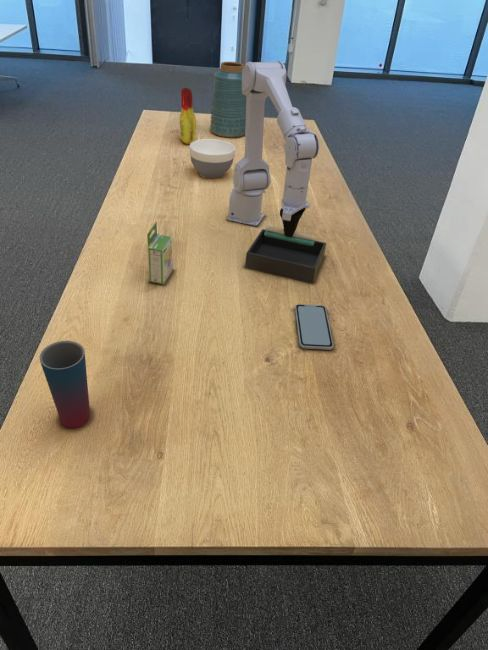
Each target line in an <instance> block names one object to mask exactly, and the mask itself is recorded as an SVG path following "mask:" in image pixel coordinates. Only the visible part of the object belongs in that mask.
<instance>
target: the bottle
mask: <svg viewBox="0 0 488 650" xmlns="http://www.w3.org/2000/svg"><path fill="white" fill-rule="evenodd" d="M180 94H181V95H180V96H181V97H180V99H181V100H180V101H181V103H180V104H181V112H180V114H179V129H180V130H179V131H180V132H179V133H180V139H181V141H182V143H184V144H185V145H190V144H191V143H192V142H194V141H196V140H197V139H196V138H197V137H196V135H197V118H196V115H195V113H194V104H193V103H194V102H193V101H194V100H193V92H192V89H190V88H188V87H182V88H181V91H180Z"/></svg>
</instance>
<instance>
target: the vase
mask: <svg viewBox="0 0 488 650" xmlns="http://www.w3.org/2000/svg"><path fill="white" fill-rule="evenodd" d="M219 66H220V68H219V70H217V71H215V72H214V74H213V75H214V78H213V88H212V89H213V90H212V98H211V99H212V103H211V109H210V110H211V111H210V121H209V123H210V124H209V130H210V131H211V133H212V134H214V135H215V136H219V137H222V138H229V139H230V138H231V139H232V138H233V139H234V138H240V137H243V136H245V131H246V98H247V96H246V95H244V94H242V71H243V68H244V64H243V63H241V62H237V61H222V62H221V63H220V65H219Z"/></svg>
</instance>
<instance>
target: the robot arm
mask: <svg viewBox="0 0 488 650" xmlns="http://www.w3.org/2000/svg"><path fill="white" fill-rule="evenodd" d="M286 83H287V69H286V66H285V64H284V63H283V62H282V61H281V60H279V61H255V62H254V61H253V62H252V61H247V62H246V63H245V65H243V71H242V94H244V95H246V96H247V98H246V131H245V135H244V156H243V157H242V158H241V159H240V160H239V161H237V162H236V163H235V164H234V171H233V175H232V184H233V188H232V189H231V192H230V194H229V201H228V217H227V221H230V222H236V223H240V224H243V225H244V224H245V225H249V226H254V227H258V226H259V225H260V223H261V221H262V220H263V219H264V217H265V214H264V213H262V203H263V196H264V195H263V194H265V193H266V190H267V189H269V187H270V185H271V174H270V173H271V172H270V164H269V163H268V162H267V161H266V160H265V159H264V158H263V151H264V150H263V147H264V127H265V110H266V109H265V108H266V107H265V106H266V99H268V97H269V99H270V101H271V102H272V104H273V106H274V108H275V110H276V111H277V113H278V115H277V118H276V123H277V125H278V127H279V129H280V132H281V134H282V137H283V139H284V141H285V142H284V155H285V156H284V157H285V159H284V163H285V166H286V169H285V170H286V171H285V178H284V186H283V194H282V199H281V207H282V208H280V210H279V216H280V218H281V221H282V226H283V229H284V235H285V236H288V237H292V236H293V234H294V232H297V231H296V230H297V227H298V225H299V222H300V220H301V218H302V216H303V214H304V212H305V211H306V209H309V208H310V206H311V202H309V201H307V195H308V189H309V182H310V175H311V171H312V169H311V168H312V163H313V159H315V158H317V156H318V154H319V151H320V142H319V141H320V140H319V138H318V135H317V133H316V132H314V131H312V130H311V129H308V127H307V125H306V123H305V120H304V118H303V116H302V114H301V112H300V110H299V108H297V107H294V106H293V104H292V102H291V98H290V95H289V93H288V90H287V86H286Z"/></svg>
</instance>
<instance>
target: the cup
mask: <svg viewBox="0 0 488 650" xmlns="http://www.w3.org/2000/svg"><path fill="white" fill-rule="evenodd" d="M39 362H40V365H41V368H42V371H43V374H44V376H45V379H46V382H47V386H48V389H49V391H50V394H51V398H52V400H53V403H54V406H55V409H56V412H57V414H58V417H59V421H60V423H61V424H62V426H63V427H64V428H68V429H78V428H81V427H83V426H85V425H86V424H87V423H89V421H90V419H91V410H90V409H91V408H90V397H89V384H88V376H87V375H88V374H87V363H86V362H87V361H86V351H85V348H84V347H83V346H82V344H81V343H79V342H77V341H73V340H59V341H55V342H53V343H50V344H48V345H47V346H45V347H44V349H42V351H40V354H39Z"/></svg>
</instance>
